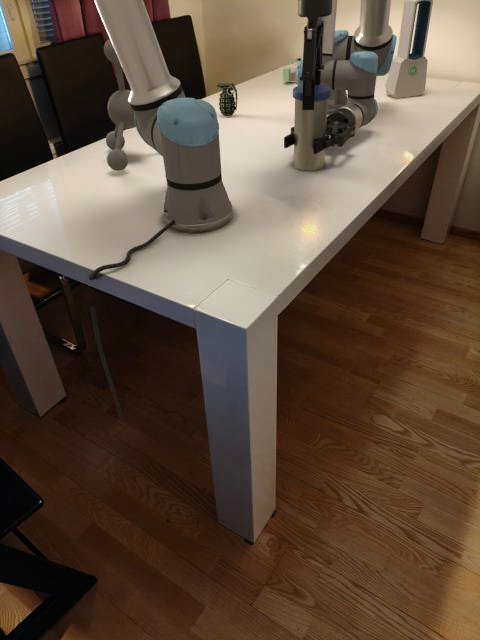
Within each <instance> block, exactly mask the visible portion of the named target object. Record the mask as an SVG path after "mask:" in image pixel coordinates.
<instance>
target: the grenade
mask: <svg viewBox="0 0 480 640" xmlns="http://www.w3.org/2000/svg"><path fill="white" fill-rule="evenodd" d="M215 87H217V88H219V89H221V93H219V97H218V101H219V102H218V106H219V108H218V109H219V112H220V114H221V115H222V116H224V117H231V116H233V115H234V113H235V112H236V111H237V108H238V89H237V87H236V85H235V84H234V83H233V82H218V83H217V84H216V86H215ZM232 91H233V92H232ZM234 94H235V96H234Z"/></svg>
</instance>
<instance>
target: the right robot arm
mask: <svg viewBox="0 0 480 640" xmlns="http://www.w3.org/2000/svg"><path fill="white" fill-rule="evenodd" d="M391 5H392V0H360V10H359V11H360V12H359V25H358V27H357V28H356V29H355V30H354V33H353V35H350V33H349V30H347V29H338V30H336V21H337V11H338V10H337V9H338V0H333V1H332V13H331V15H329V16H326V17H321V20H323V22H324V31H323V49H322V61H323V64H322V65H324V70H319V71H321V81H320V85H326V86H329V87H330V88H331V96H330V97H329V98H328V107H327V124H326V136H325V137H323V138H321V139H320V140H318V141H316V142H314V153H313V154H317V153H319V152H321V151H322V150H324V149H325V150H326V149H328V148H330V147H335V146H336V145H337V147H338V148H342V147H343V146H344V145H345V144H346V143H347V142H348V141H349V140H350V139H351V138H355V136H356V131H357V130H359V129H361V128H362V127H364V126H367V125H369V124H370V123H372V121H374V119H376V117H377V115H378V112H379V104H378V101H377V99H375V93H376V92H375V91H376V84H377V77H384V76H386V75H388V74H389V70H390V67H391V64H392V60H393V59H394V55H395V54H394V53H395V50H396V46H397V40H398V37H397V35H396V34H394V31H393V28H392V27H391V26H390V16H391V15H390V14H391ZM296 61H298V62H299V63H298V66H297V76H296V78H297V83H296V85H297V86H301V85H303V81H300V77H301V76H302V66H303V59H302V58H301V57H300V58H299V59H298V58H297V60H296ZM292 146H294V126H292V127H290V133H289V134H287V135H285V136H284V137H283V148H284V149H288V148H290V147H292Z"/></svg>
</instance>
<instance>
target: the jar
mask: <svg viewBox="0 0 480 640" xmlns="http://www.w3.org/2000/svg"><path fill="white" fill-rule="evenodd" d="M302 102H303V101H302V100H297V99H295V98H294V123H293V125H294V126H293V127H294V145H293V167H294V168H295V169H297V170H301V171H317V170H320V169H322V168H324V166H325V159H326V158H325V155H326V149H324V150H322V151H321V152H319V153H317V154H313V153H314V142H316V141H318V140H320V139H321V138H323V137H325V136H326V124H327V116H328V114H327V107H328V98H327V99H324V100H318V101H314V110H302Z"/></svg>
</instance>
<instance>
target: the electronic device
mask: <svg viewBox="0 0 480 640" xmlns="http://www.w3.org/2000/svg"><path fill="white" fill-rule="evenodd" d="M433 4H434V0H403V7H402V14H401V15H402V16H401V23H400V31H399V37H398V45H397V53H396V55H395V56H394V57H393V60H392V64H391V67H390V70H389V72H388V73H387V78H386V82H385V87H384V88H385V92H386V93H387V95H389V96H390V97H393V98H395V99H401V98H410V97H417V96H422V95H423V94H424V93H425V92H426V84H427V74H428V73H427V72H428V61H429V60H428V59H427V57H426V56H425V53H426V47H427V42H428V34H429V29H430V23H431V17H432V10H433V6H434V5H433Z"/></svg>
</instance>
